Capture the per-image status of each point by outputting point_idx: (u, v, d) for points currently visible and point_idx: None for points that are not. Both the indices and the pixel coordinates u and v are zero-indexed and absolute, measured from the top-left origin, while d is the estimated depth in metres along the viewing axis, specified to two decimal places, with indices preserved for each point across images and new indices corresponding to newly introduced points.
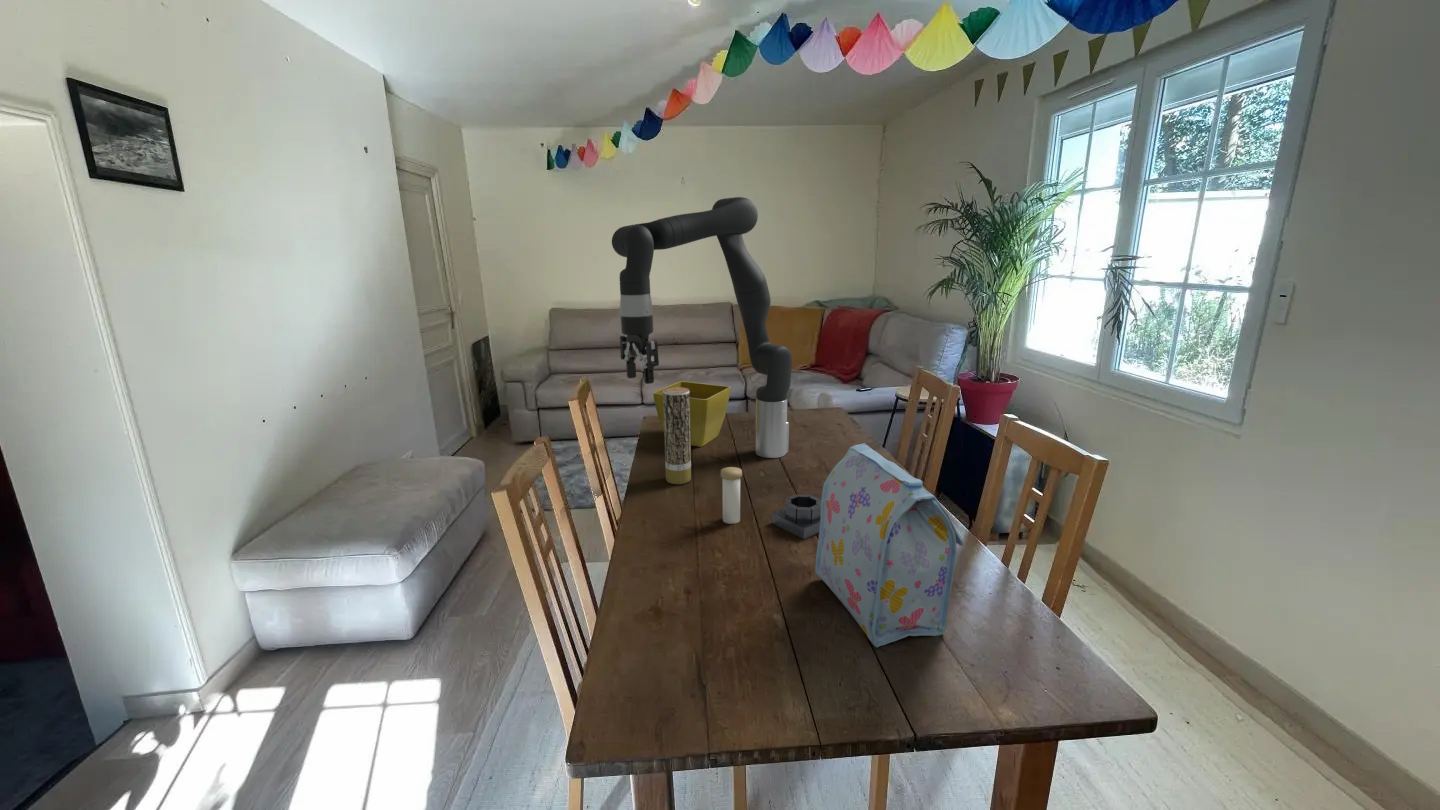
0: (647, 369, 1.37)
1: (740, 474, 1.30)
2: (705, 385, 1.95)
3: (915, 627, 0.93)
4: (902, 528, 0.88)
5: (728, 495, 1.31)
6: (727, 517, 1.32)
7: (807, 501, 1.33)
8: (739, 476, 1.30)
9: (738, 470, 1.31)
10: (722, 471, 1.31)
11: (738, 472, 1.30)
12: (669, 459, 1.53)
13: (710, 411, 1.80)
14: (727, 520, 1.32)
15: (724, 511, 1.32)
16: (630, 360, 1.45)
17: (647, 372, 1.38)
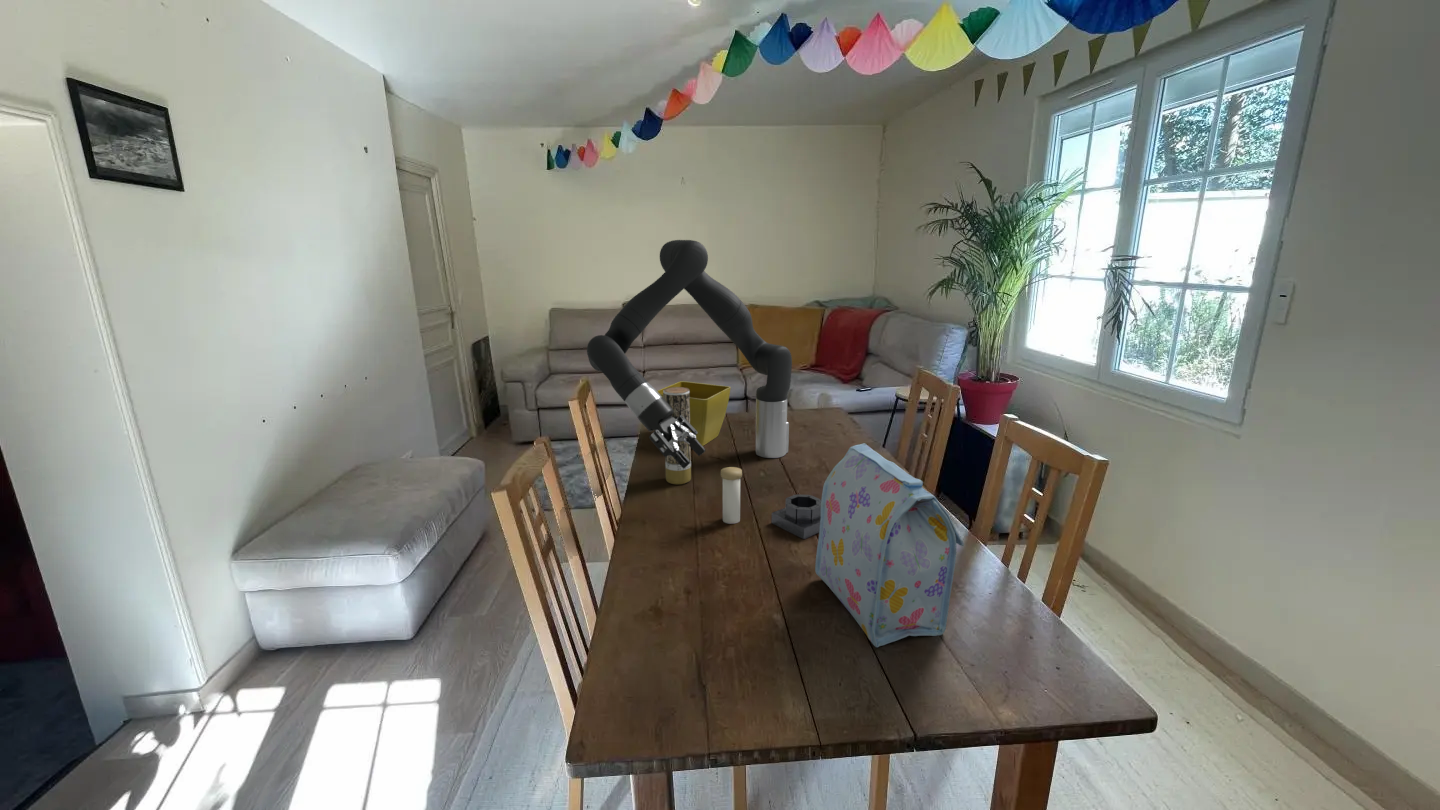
0: None
1: (740, 474, 1.30)
2: (705, 385, 1.95)
3: (915, 627, 0.93)
4: (902, 528, 0.88)
5: (728, 495, 1.31)
6: (727, 517, 1.32)
7: (807, 501, 1.33)
8: (739, 476, 1.30)
9: (738, 470, 1.31)
10: (722, 471, 1.31)
11: (738, 472, 1.30)
12: (669, 459, 1.53)
13: (710, 411, 1.80)
14: (727, 520, 1.32)
15: (724, 511, 1.32)
16: (689, 439, 1.38)
17: None
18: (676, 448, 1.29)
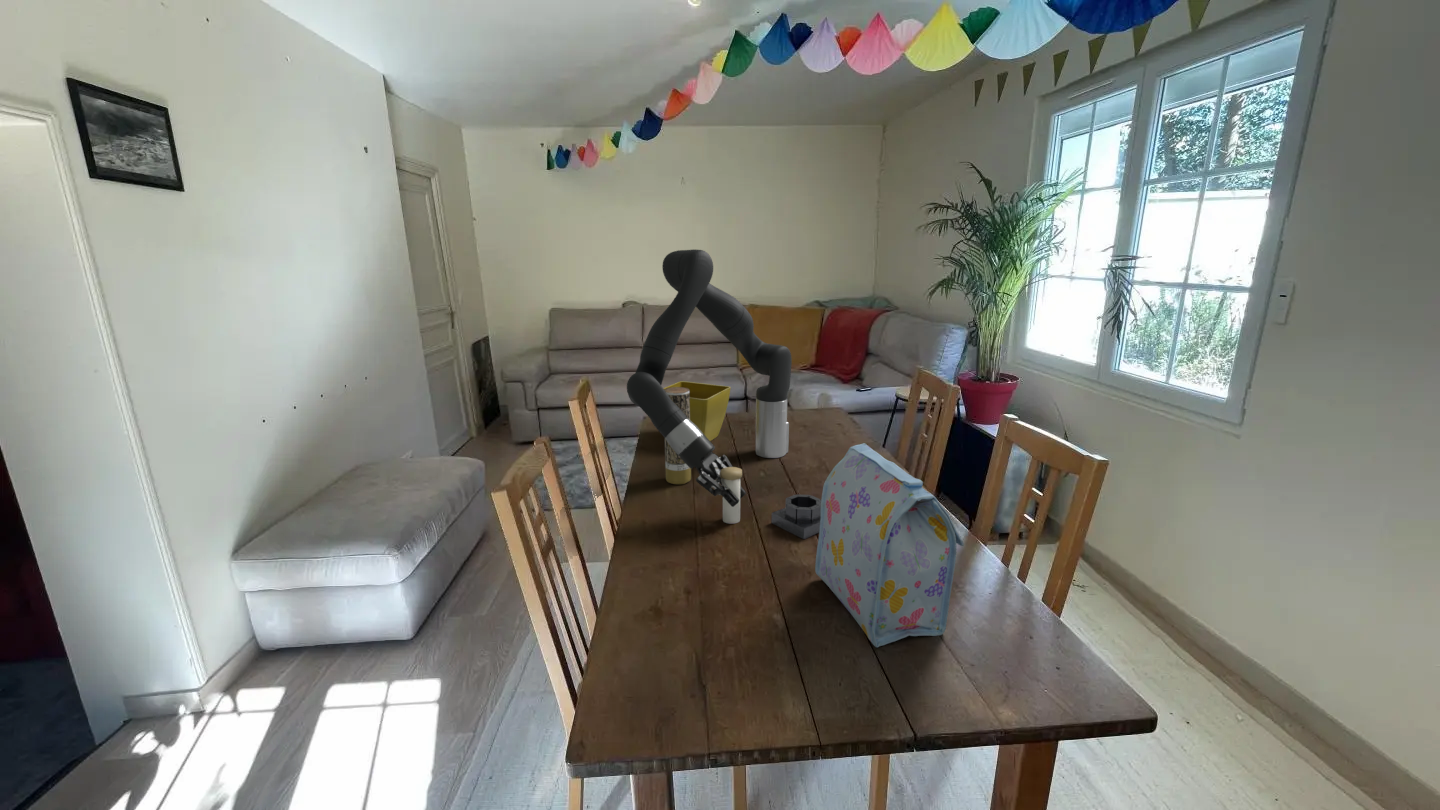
0: None
1: (740, 474, 1.30)
2: (705, 385, 1.95)
3: (915, 627, 0.93)
4: (902, 528, 0.88)
5: None
6: (727, 517, 1.32)
7: (807, 501, 1.33)
8: (739, 476, 1.30)
9: (738, 470, 1.31)
10: (722, 471, 1.31)
11: (738, 472, 1.30)
12: (669, 459, 1.53)
13: (710, 411, 1.80)
14: (727, 520, 1.32)
15: (724, 511, 1.32)
16: None
17: None
18: (726, 487, 1.29)
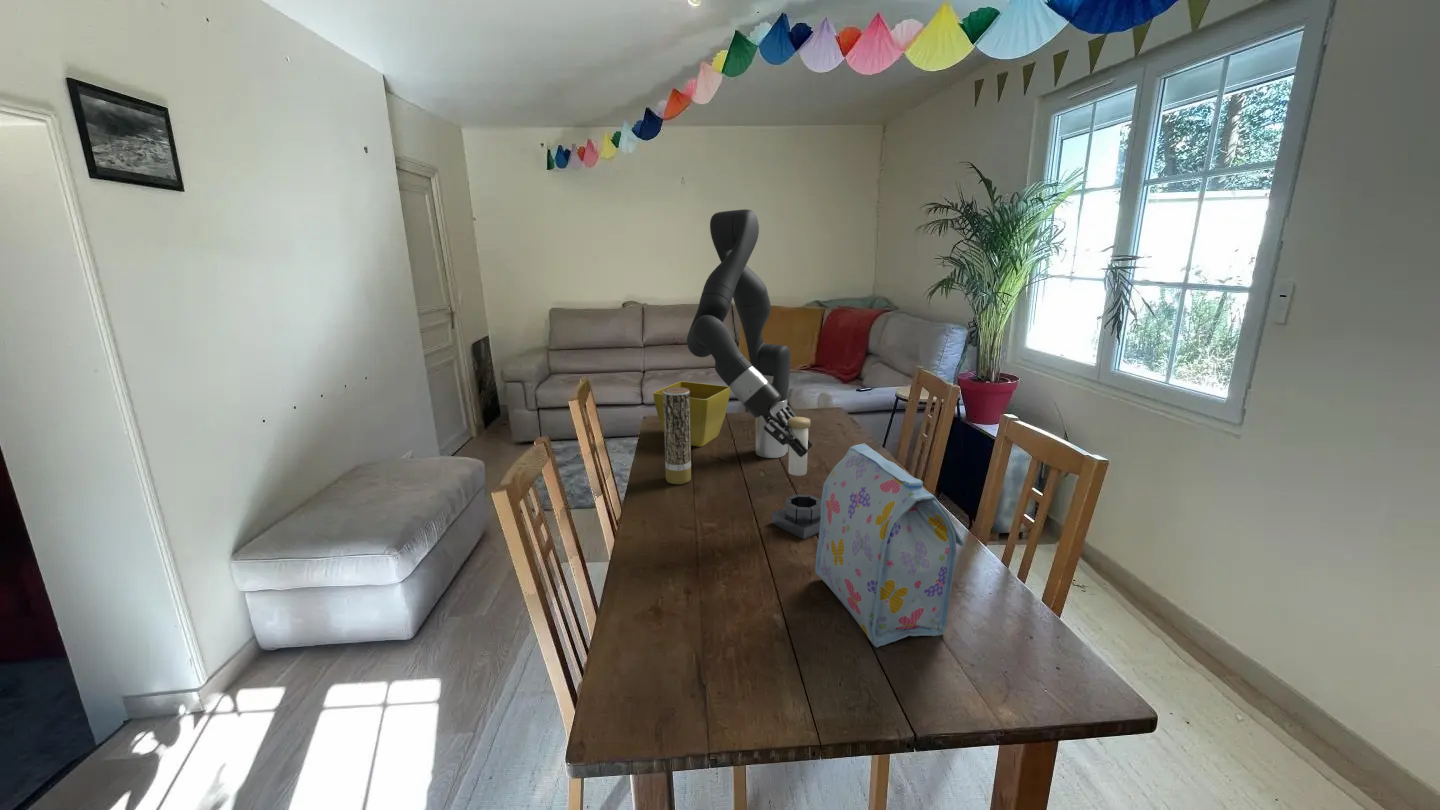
0: None
1: (809, 423, 1.24)
2: (705, 385, 1.95)
3: (915, 627, 0.93)
4: (902, 528, 0.88)
5: None
6: (794, 468, 1.27)
7: (807, 501, 1.33)
8: (808, 425, 1.24)
9: (806, 419, 1.26)
10: (790, 420, 1.25)
11: (807, 421, 1.25)
12: (669, 459, 1.53)
13: (710, 411, 1.80)
14: (794, 472, 1.27)
15: (791, 462, 1.27)
16: None
17: None
18: (794, 436, 1.24)
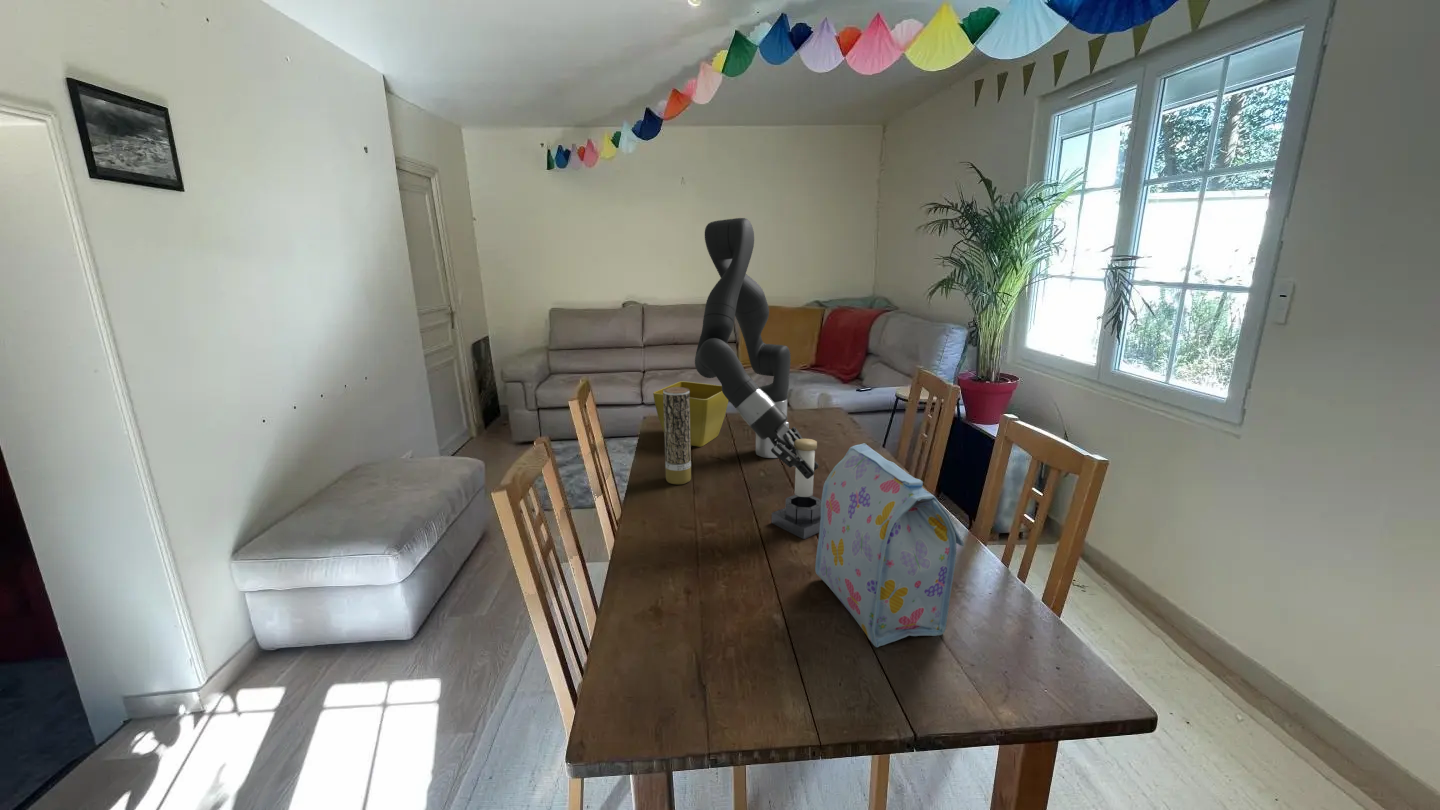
0: None
1: (815, 445, 1.26)
2: (705, 385, 1.95)
3: (915, 627, 0.93)
4: (902, 528, 0.88)
5: None
6: (800, 490, 1.28)
7: (807, 501, 1.33)
8: (815, 447, 1.25)
9: (813, 441, 1.27)
10: (796, 442, 1.26)
11: (814, 443, 1.26)
12: (669, 459, 1.53)
13: (710, 411, 1.80)
14: (800, 493, 1.28)
15: (797, 484, 1.28)
16: None
17: None
18: (801, 458, 1.25)
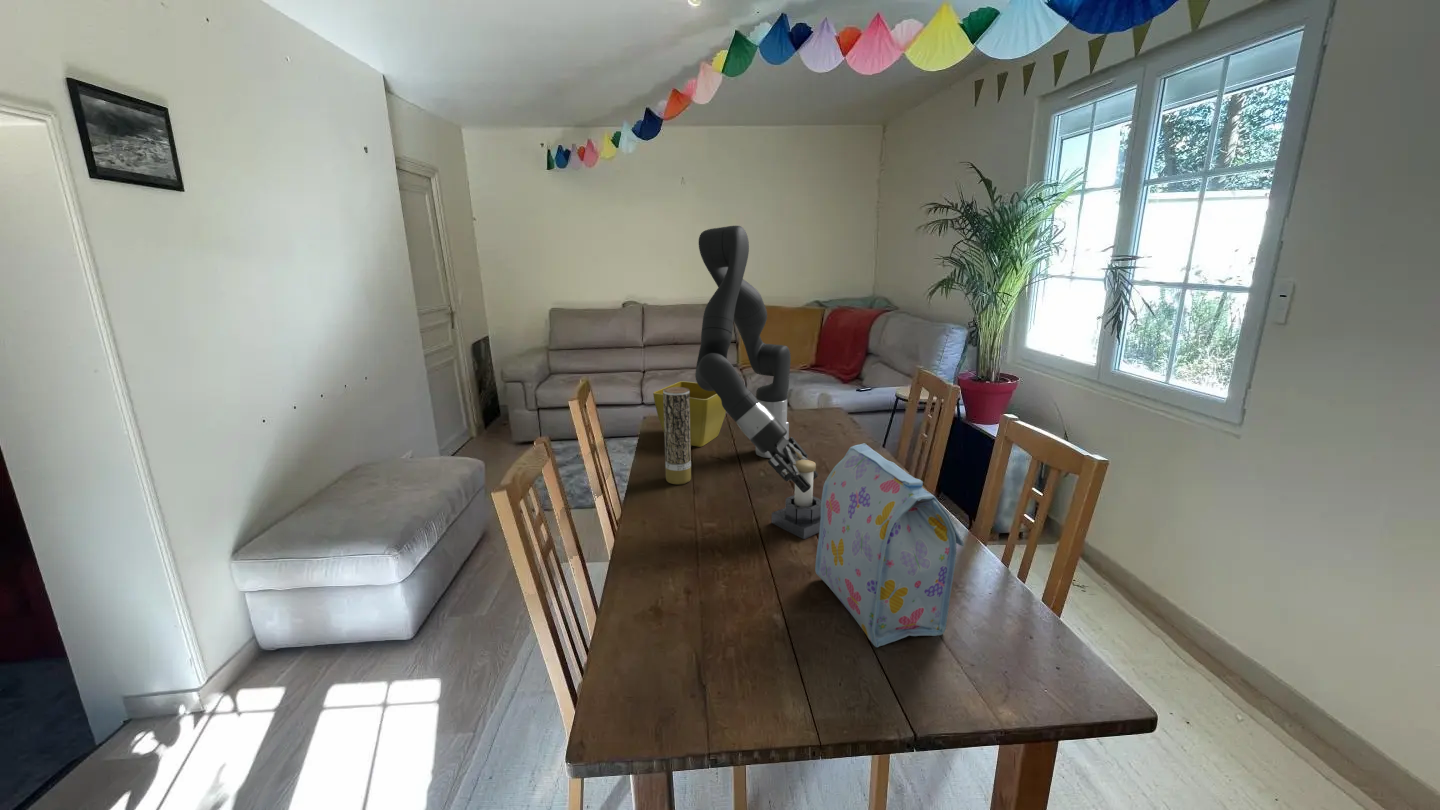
0: None
1: (814, 467, 1.27)
2: None
3: (915, 627, 0.93)
4: (902, 528, 0.88)
5: None
6: None
7: None
8: (813, 469, 1.27)
9: (811, 463, 1.29)
10: None
11: (812, 465, 1.27)
12: (669, 459, 1.53)
13: (710, 411, 1.80)
14: None
15: (796, 505, 1.30)
16: None
17: None
18: (797, 472, 1.24)
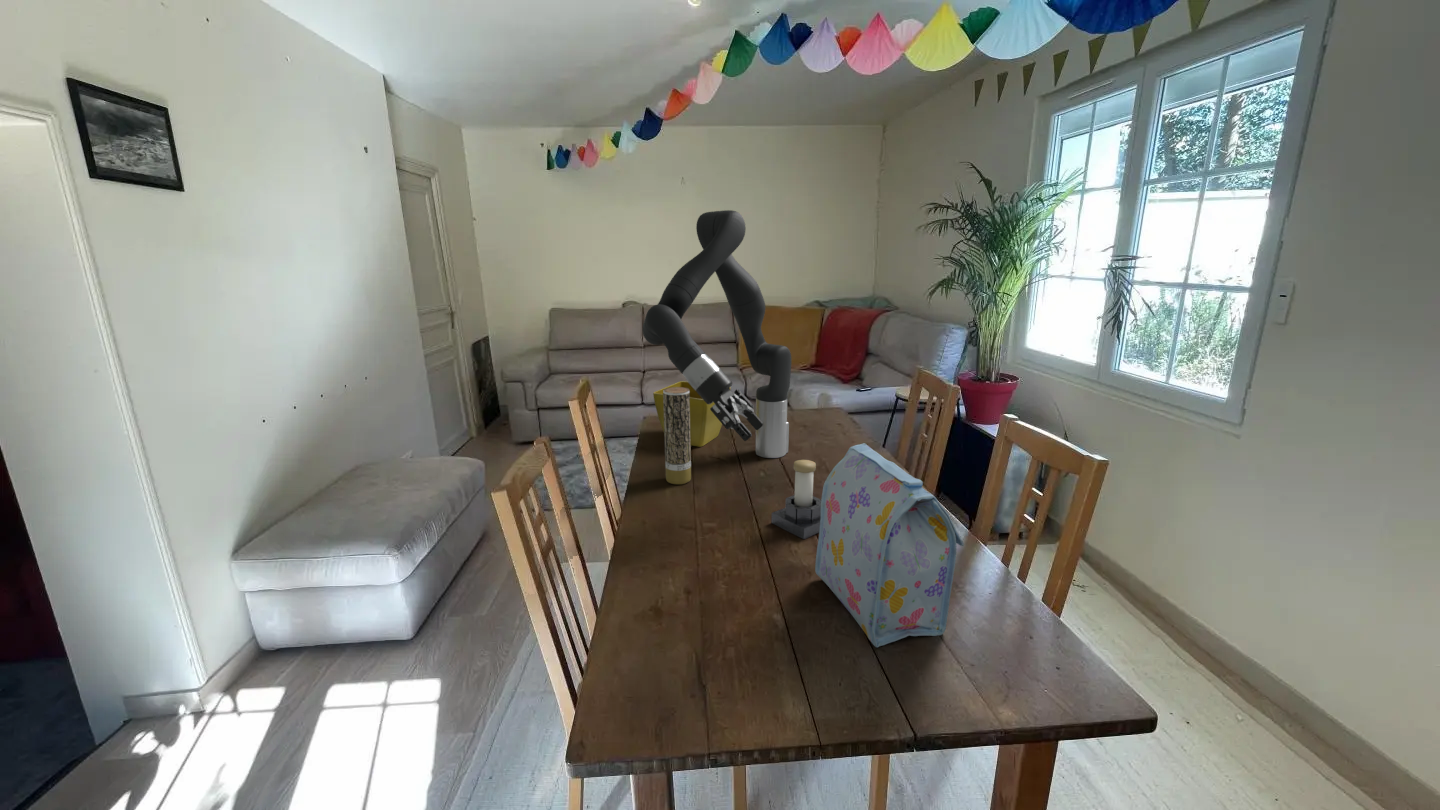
0: None
1: (814, 467, 1.27)
2: None
3: (915, 627, 0.93)
4: (902, 528, 0.88)
5: (801, 488, 1.28)
6: None
7: None
8: (813, 469, 1.27)
9: (811, 463, 1.29)
10: (795, 464, 1.28)
11: (812, 465, 1.27)
12: (669, 459, 1.53)
13: (710, 411, 1.80)
14: None
15: (796, 505, 1.30)
16: (747, 413, 1.35)
17: None
18: (738, 420, 1.26)
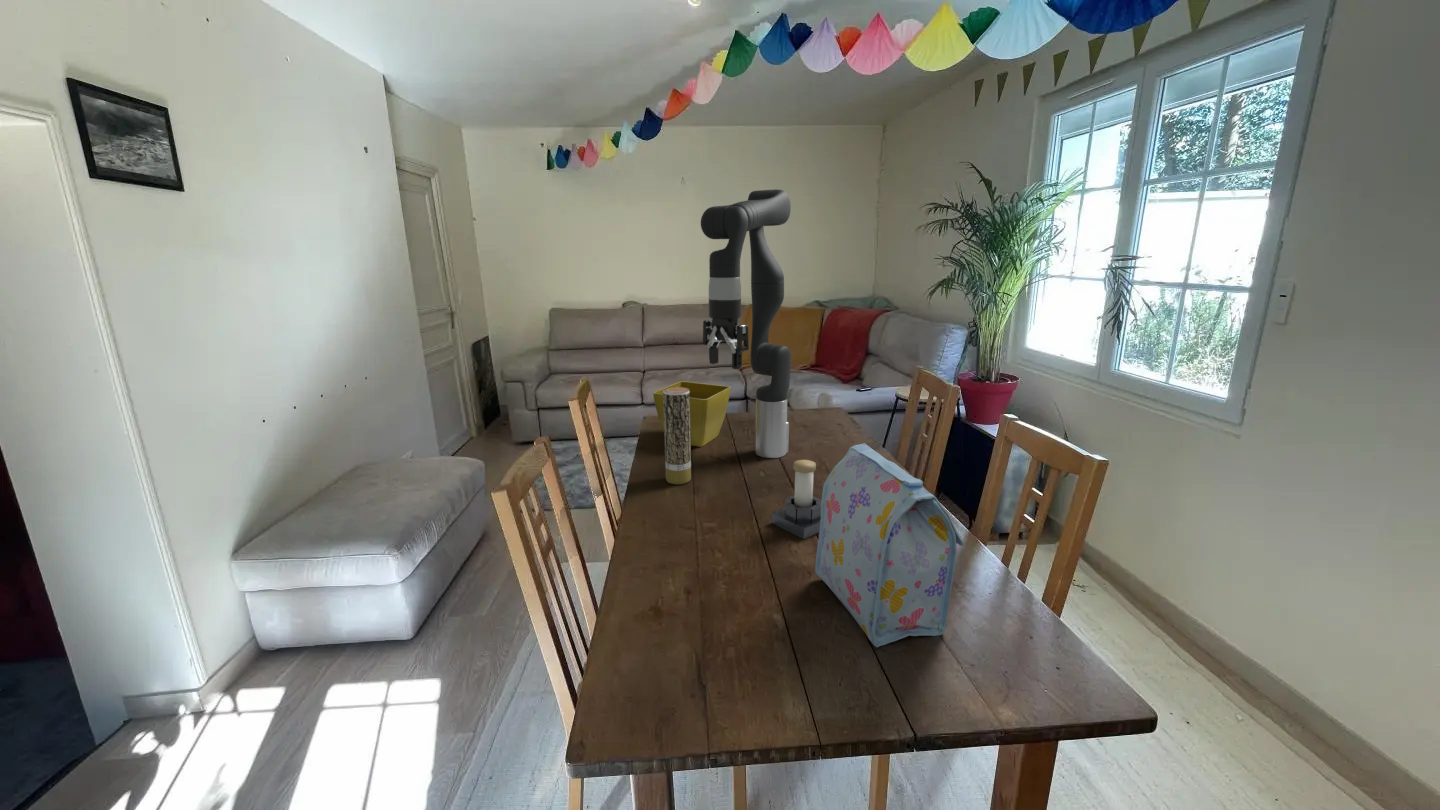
0: (736, 354, 1.34)
1: (814, 467, 1.27)
2: (705, 385, 1.95)
3: (915, 627, 0.93)
4: (902, 528, 0.88)
5: (801, 488, 1.28)
6: None
7: None
8: (813, 469, 1.27)
9: (811, 463, 1.29)
10: (795, 464, 1.28)
11: (812, 465, 1.27)
12: (669, 459, 1.53)
13: (710, 411, 1.80)
14: None
15: (796, 505, 1.30)
16: (713, 345, 1.41)
17: (735, 357, 1.35)
18: None
